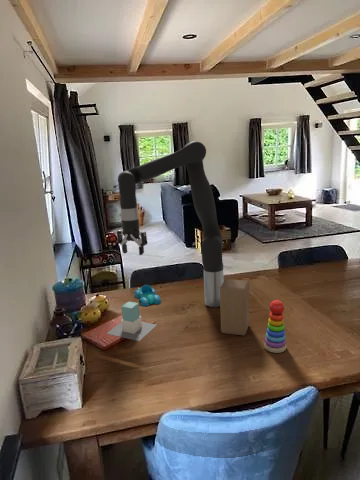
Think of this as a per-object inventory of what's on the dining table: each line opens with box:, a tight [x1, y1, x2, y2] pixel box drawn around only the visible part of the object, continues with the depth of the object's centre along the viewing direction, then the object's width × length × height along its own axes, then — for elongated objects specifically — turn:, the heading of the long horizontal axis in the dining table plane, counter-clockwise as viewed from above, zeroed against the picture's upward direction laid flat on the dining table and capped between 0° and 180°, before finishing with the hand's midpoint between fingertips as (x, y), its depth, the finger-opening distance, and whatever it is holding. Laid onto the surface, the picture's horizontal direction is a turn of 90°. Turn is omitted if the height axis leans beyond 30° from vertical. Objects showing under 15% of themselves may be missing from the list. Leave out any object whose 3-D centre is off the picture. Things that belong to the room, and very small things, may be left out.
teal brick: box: [121, 301, 141, 322], centre depth 150 cm, size 5×5×6 cm
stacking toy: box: [263, 299, 287, 354], centre depth 132 cm, size 8×8×19 cm
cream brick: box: [120, 315, 143, 334], centre depth 151 cm, size 6×6×5 cm
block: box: [219, 278, 250, 336], centre depth 147 cm, size 10×10×20 cm
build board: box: [106, 321, 158, 342], centre depth 152 cm, size 16×14×1 cm
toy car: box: [133, 284, 162, 307], centre depth 183 cm, size 11×18×7 cm, turn 20°
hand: (133, 253), depth 163 cm, fingers open, 8 cm apart
